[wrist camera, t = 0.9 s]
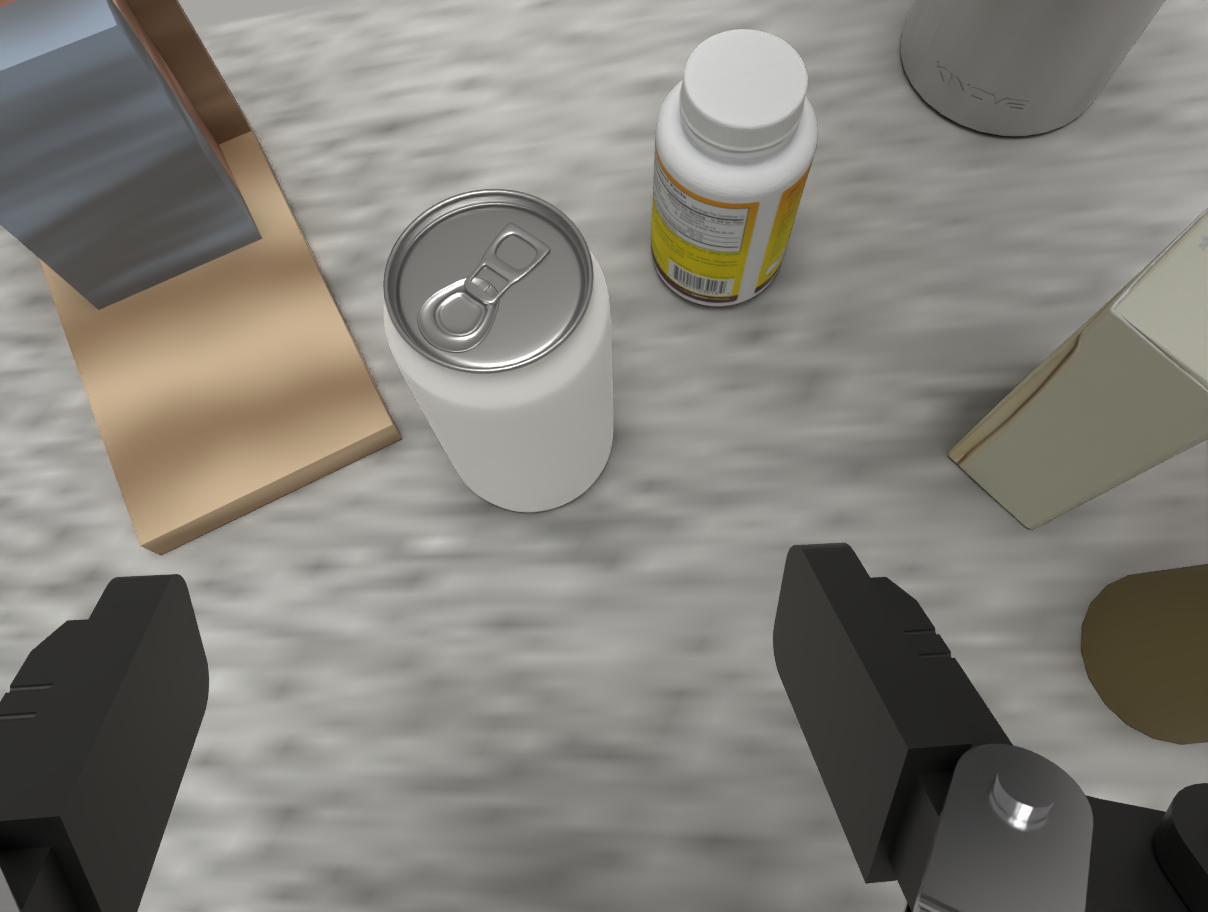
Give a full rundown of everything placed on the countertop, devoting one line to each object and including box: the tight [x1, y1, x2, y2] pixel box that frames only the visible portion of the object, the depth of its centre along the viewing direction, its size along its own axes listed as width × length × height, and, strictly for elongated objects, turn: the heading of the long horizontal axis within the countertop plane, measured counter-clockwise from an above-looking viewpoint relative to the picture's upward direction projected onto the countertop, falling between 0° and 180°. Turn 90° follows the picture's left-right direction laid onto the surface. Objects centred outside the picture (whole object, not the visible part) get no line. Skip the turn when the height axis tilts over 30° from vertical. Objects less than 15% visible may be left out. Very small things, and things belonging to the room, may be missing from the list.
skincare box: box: [948, 208, 1208, 529], centre depth 28 cm, size 6×4×12 cm
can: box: [384, 189, 613, 512], centre depth 29 cm, size 6×6×12 cm
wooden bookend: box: [0, 0, 402, 555], centre depth 30 cm, size 17×10×14 cm, turn 28°
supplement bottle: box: [651, 29, 818, 306], centre depth 32 cm, size 6×6×10 cm
